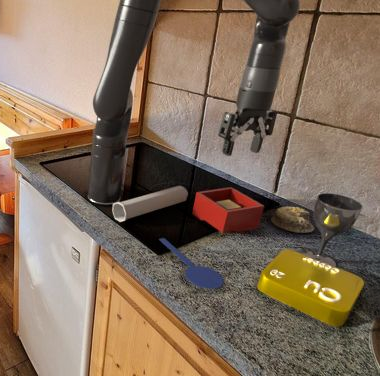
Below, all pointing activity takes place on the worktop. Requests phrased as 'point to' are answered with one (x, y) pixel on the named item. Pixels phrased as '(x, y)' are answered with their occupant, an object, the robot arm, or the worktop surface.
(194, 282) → the spoon
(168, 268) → the worktop surface
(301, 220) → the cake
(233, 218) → the red open tray
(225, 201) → the block
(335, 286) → the element tile
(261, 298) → the worktop surface
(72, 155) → the worktop surface
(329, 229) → the wine glass
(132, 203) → the tube
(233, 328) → the worktop surface
